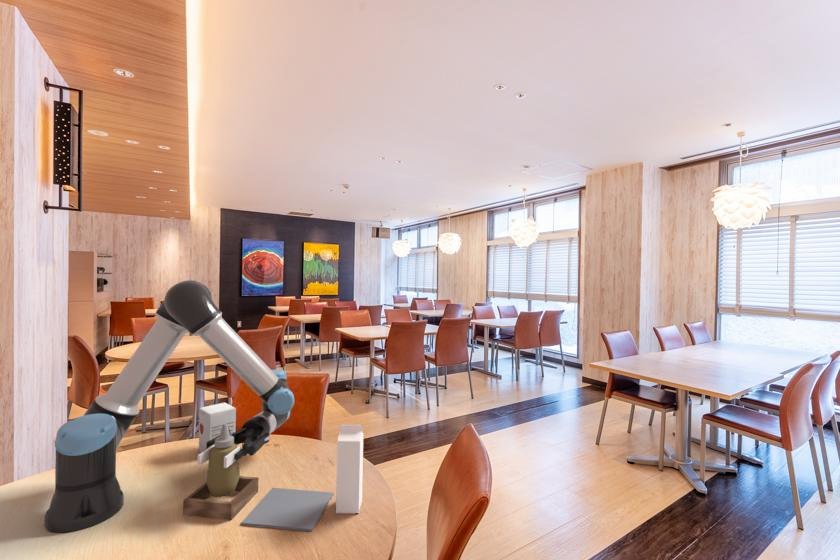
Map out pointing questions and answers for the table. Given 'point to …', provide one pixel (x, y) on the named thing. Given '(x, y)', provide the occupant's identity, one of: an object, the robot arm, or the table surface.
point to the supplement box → (215, 422)
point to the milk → (349, 469)
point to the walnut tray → (217, 509)
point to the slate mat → (289, 509)
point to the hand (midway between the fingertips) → (212, 461)
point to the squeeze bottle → (222, 466)
